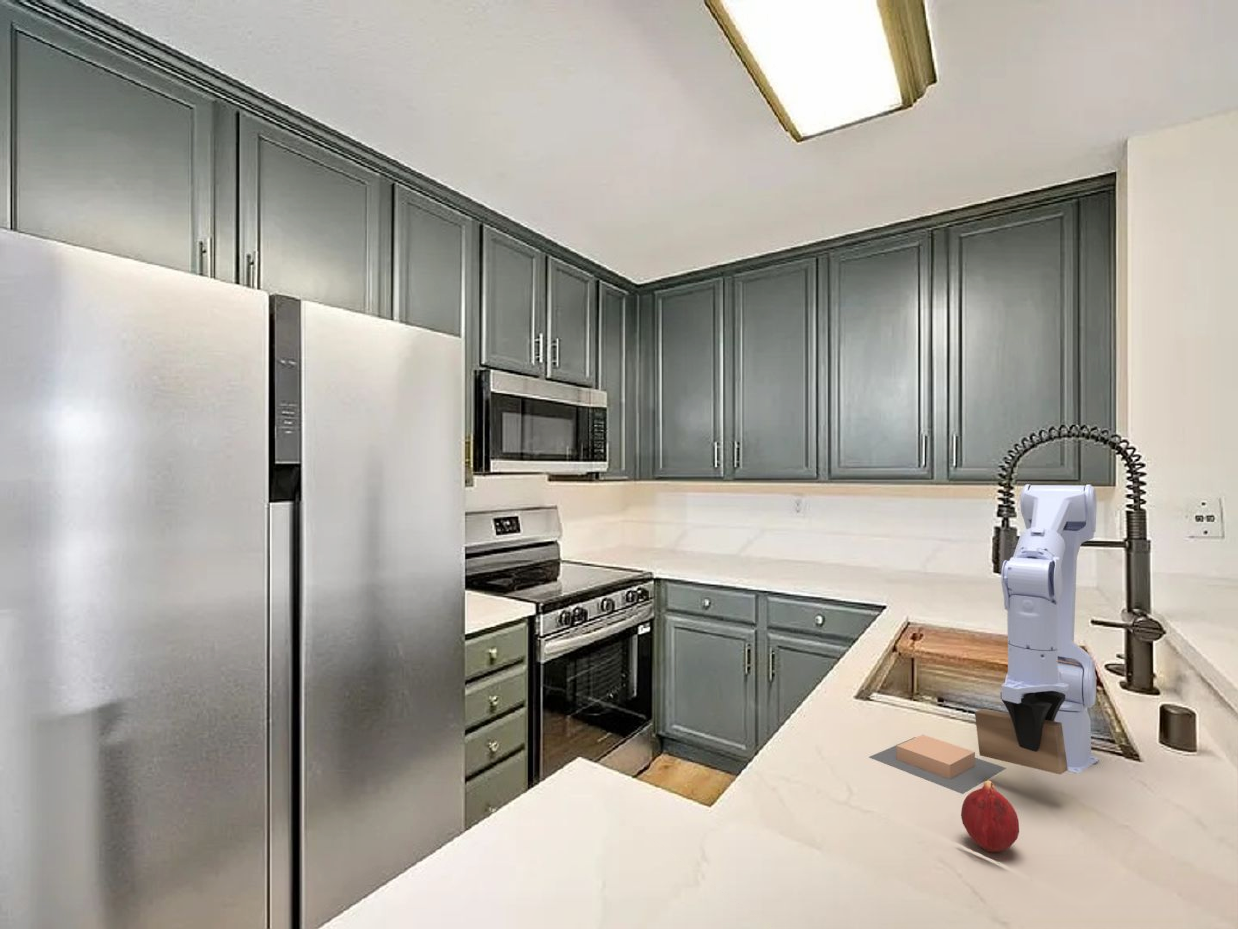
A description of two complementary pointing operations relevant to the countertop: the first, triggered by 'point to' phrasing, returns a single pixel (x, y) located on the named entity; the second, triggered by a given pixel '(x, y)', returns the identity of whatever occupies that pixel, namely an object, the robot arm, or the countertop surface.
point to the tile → (936, 756)
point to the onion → (990, 819)
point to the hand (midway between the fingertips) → (1033, 746)
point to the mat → (957, 783)
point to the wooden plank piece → (1004, 746)
